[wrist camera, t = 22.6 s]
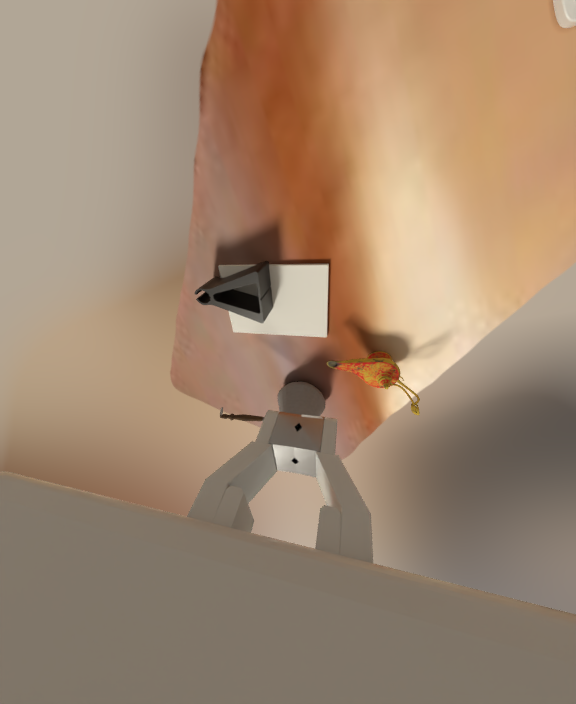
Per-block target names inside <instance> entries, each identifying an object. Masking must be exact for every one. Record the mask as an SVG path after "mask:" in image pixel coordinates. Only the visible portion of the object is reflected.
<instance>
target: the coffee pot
mask: <svg viewBox="0 0 576 704" xmlns="http://www.w3.org/2000/svg"><path fill="white" fill-rule="evenodd" d="M278 404H279V410H280V412H286V413H293V414H299V415H311V416H320V415H321V414H322V413H323V411H324V409H325V399H324V397H323V395H322V393H321V392H320V391H319V390H318V389H317V388H316V387H315V386H313V385H311V384H309V383H306V382H292V383H289V384H287V385H285V386H284V387H283V388H282V389H281V390H280V391H279V393H278ZM221 412H222V413H223V407H222V408H221ZM221 412H220V418H224V419H227V418H229V419H231V420H233V419H237V420H242V421H264V418H265V417H260V416H252V415H234V414H231V415H227V414H223V415H222V413H221Z"/></svg>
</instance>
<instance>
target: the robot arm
mask: <svg viewBox="0 0 576 704" xmlns="http://www.w3.org/2000/svg"><path fill="white" fill-rule="evenodd" d="M553 4H554V10H555V15H556V19H557V21H558V23H559V25H560V26H561V27H563V28H570V27H573V26H576V0H553ZM336 433H337V419H334V418H326V417H320V416H311V415H299V414H293V413H286V412H280V411H273V410H268V412H267V413H266V415H265V418H264V421H263V423H262V426H261V428H260V431H259V434H258V436H257V439H256V442H251V443H250V444H248V445H247V446H246V447H245V448H244V449H242V450H241V451H240V452H239V453H237V454H236V455H235V456H234V457H232V458H231V459H230V460H229V461H227V462H226V463H225V464H224V465H223V466H221V467H220V468H219V469H218V470H216V471H215V472H214V473H213V474H212V475H210V476H209V477H208V478H207V479H205V482H204V483H203V485H202V487H201V489H200V491H199V493H198V496H197V498H196V499H195V501H194V504H193V505H192V507H191V510H190V511H189V514H188V516H187V517H186V516H182V515H178V514H174V513H170V512H166V511H162V510H158V509H154V508H150V507H146V506H142V505H138V504H134V503H130V502H126V501H122V500H118V499H115V498H111V497H107V496H103V495H99V494H95V493H91V492H87V491H83V490H79V489H75V488H71V487H67V486H63V485H58V484H55V483H51V482H46V481H42V480H39V479H34V478H30V477H27V476H23V475H19V474H15V473H11V472H0V704H576V614H572V613H568V612H564V611H560V610H556V609H552V608H548V607H544V606H540V605H536V604H532V603H528V602H524V601H520V600H516V599H513V598H508V597H504V596H500V595H497V594H493V593H488V592H485V591H480V590H477V589H473V588H468V587H465V586H461V585H457V584H453V583H449V582H445V581H440V580H437V579H433V578H429V577H425V576H421V575H417V574H412V573H409V572H405V571H401V570H397V569H393V568H389V567H385V566H381V565H377V564H373V549H372V527H371V513H370V512H369V510H368V508H367V506H366V504H365V502H364V501H363V499H362V497H361V495H360V493H359V492H358V490H357V488H356V486H355V485H354V483H353V481H352V479H351V477H350V475H349V474H348V472H347V470H346V468H345V467H344V465H343V463H342V461H341V459H340V457H339V455H335V448H336ZM277 470H279V471H286V472H292V473H298V474H303V475H307V476H312V477H316V479H317V481H318V484H319V487H320V489H321V492H322V494H323V496H324V499H325V502H326V505H327V506H325V505H324V506H323V507H322V508H321V509H320V515H319V524H318V532H317V541H316V548H315V549H314V548H309V547H306V546H302V545H298V544H294V543H289V542H286V541H282V540H277V539H274V538H270V537H266V536H261V535H258V534H254V533H251V530H252V527H253V523H254V519H253V516H252V514H251V511H250V508H249V506H248V503H249V502H250V501H251V500H252V499H253V498H254V496H255V495H256V494H257V493H258V492H259V491H260V490H261V489H262V487H263V486H264V485H265V484H266V483H267V482H268V481H269V479H270V478H271V477H272V476H273V475H274V474H275V473H276V472H277Z"/></svg>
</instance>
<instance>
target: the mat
mask: <svg viewBox="0 0 576 704" xmlns="http://www.w3.org/2000/svg"><path fill="white" fill-rule="evenodd" d="M255 265H257V264H253V265H219V266H218V268H219V272H220V277H221V278H224V277H227V276H230V275H232V274H235V273H237V272H240V271H242V270H245V269H247V268H250V267H252V266H255ZM269 270H270V280H271V286H270V287H271V290H272V301H273V309H272V310H271V312H270V313H269V315H268V317H267V318H266V320H265V321H264V323H259V322H257V321H254V320H251V319H249V318H246V317H244V316H241V315H238V314H236V313H233V312H230V311H229V315H230V319H231V323H232V328H233V332H240V333H258V334H276V335H294V336H312V337H327V321H328V276H329V264H269ZM234 290H237V291H241V292H244V293H248V294H251V295H255V296H258V290H257V285H256V284H251V285H247V286H243V287H239V288H235V289H234Z"/></svg>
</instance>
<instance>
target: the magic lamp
mask: <svg viewBox="0 0 576 704" xmlns="http://www.w3.org/2000/svg"><path fill="white" fill-rule="evenodd" d="M327 365H328V366H329V367H331V368H334V369H339V370H344V371H349V372H352V373H354V374H356V375H357V376H359V377H360V378H361V379H362V380H363V381H365V382H366V383H367V384H368V385H370V386H373V387H377V388H385V389H388V387H390V386H392V385H395V386H398V387H400V388H401V389H403V390H404V391H405V389H404V388H403V387H401V386H399V385H397V384H395V383H396V382H398V383H399V384H401V385H402V386H404V387H405V388H406V389H408V390H409V391H410V392H412V393H413V394H414V395H415V396H416V397H417V399H418V400H417V402H415V403H414V402H413V400H412V398H411V397H410V395H409V394H408V393H407V392H406V391H405V393H406V394H407V396H408V397H409V398H410V400H411V401H412V404H411V410H412V412H413V413H414V414H416V415H419V408H418V405H417V403H418V402H419V400H420V399H419V397H418V395H417V394H416V393H414V392H413V391H412V390H411V389H409V388H408V387H407V386H406V385H404V384H403V383H402V382H401V381H400V380H399V377H400V369H399V367H398V366H397V364H396V363H394V362H393V361H392V358H391V356H390V355H389V354H388V353H386V352H382V351H377V352H373V353H371V354H370V355H368V357H367V358H366V359H352V360H346V361H328V362H327ZM401 378H402V377H401ZM402 379H403V378H402ZM403 380H404V379H403ZM414 405H417V407H416V406H414Z"/></svg>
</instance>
